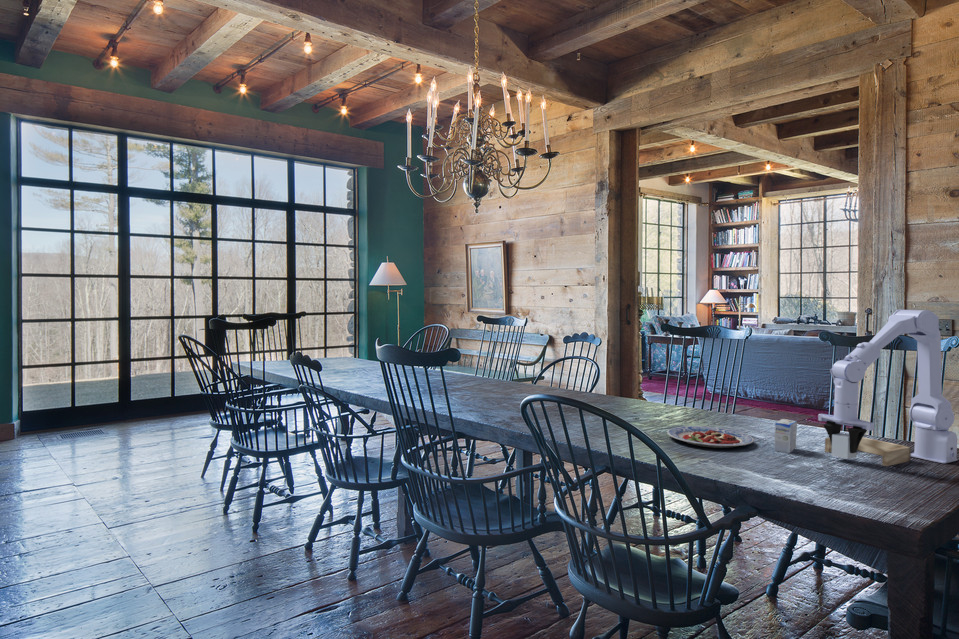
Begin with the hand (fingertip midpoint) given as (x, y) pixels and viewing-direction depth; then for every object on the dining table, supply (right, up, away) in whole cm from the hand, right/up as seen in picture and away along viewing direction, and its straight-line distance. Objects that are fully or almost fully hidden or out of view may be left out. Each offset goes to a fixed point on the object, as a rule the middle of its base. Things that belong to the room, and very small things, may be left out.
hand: (844, 450), depth 172 cm
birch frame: (+10, -3, +6) cm, 12 cm away
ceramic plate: (-30, -2, +22) cm, 37 cm away
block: (0, -2, 0) cm, 2 cm away
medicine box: (-11, -3, +12) cm, 16 cm away
